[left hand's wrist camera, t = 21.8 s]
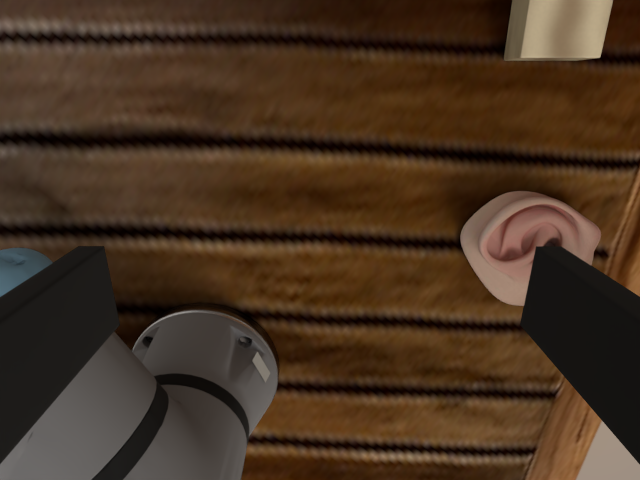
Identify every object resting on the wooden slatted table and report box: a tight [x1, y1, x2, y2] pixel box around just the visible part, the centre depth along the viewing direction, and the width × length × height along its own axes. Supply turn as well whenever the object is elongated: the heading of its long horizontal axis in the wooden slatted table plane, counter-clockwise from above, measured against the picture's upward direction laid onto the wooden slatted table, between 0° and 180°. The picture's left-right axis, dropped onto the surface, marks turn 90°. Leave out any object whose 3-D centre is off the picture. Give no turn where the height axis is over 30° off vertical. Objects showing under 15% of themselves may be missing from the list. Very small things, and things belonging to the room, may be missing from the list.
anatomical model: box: [460, 191, 601, 306], centre depth 37 cm, size 13×4×12 cm
